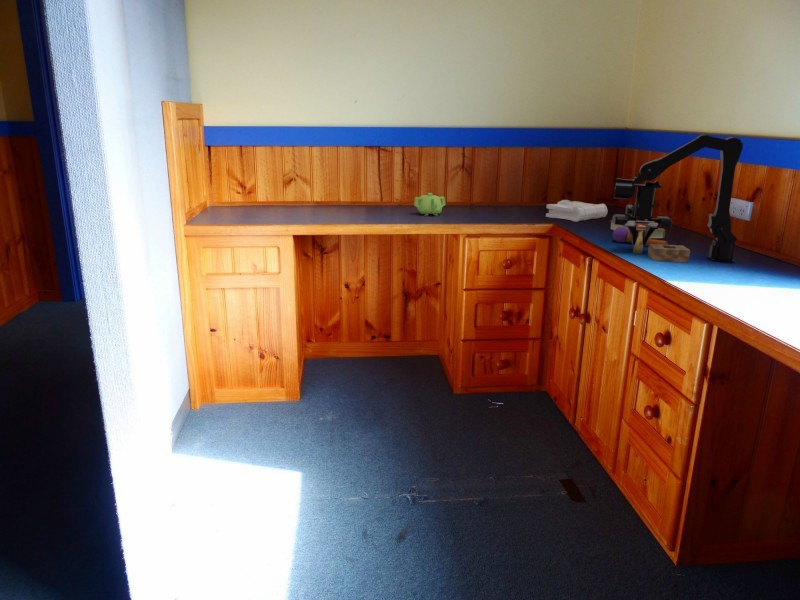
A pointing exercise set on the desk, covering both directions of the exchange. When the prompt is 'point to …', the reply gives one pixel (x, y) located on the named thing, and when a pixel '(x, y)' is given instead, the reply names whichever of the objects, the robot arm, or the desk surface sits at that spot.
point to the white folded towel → (576, 210)
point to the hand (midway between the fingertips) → (638, 245)
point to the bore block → (668, 253)
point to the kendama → (624, 235)
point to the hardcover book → (656, 234)
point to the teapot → (429, 204)
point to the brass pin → (639, 241)
